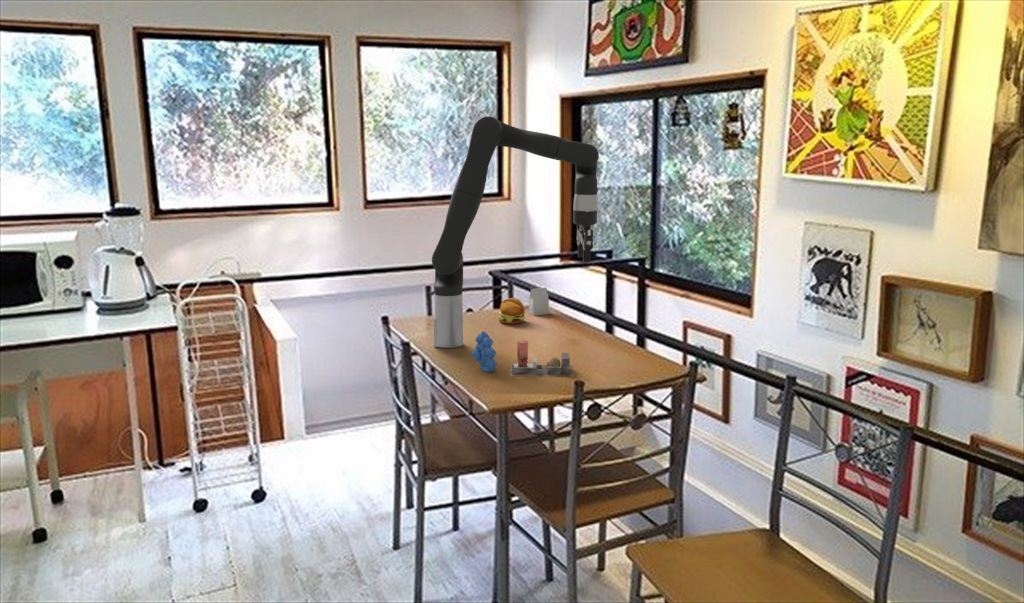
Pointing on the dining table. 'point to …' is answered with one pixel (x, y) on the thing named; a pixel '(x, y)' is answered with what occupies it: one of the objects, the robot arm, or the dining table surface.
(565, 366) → the base
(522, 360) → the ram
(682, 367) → the dining table surface
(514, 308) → the cheeseburger
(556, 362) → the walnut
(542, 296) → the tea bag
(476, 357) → the grapes
